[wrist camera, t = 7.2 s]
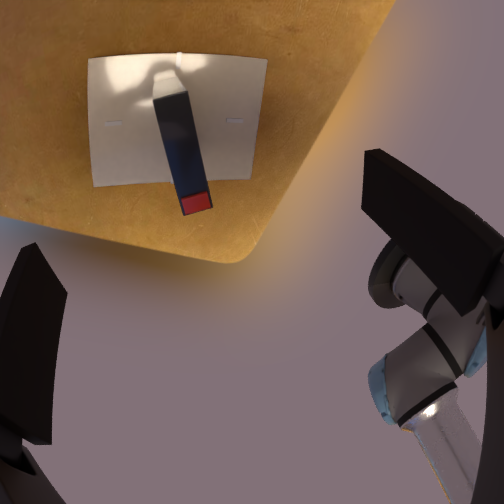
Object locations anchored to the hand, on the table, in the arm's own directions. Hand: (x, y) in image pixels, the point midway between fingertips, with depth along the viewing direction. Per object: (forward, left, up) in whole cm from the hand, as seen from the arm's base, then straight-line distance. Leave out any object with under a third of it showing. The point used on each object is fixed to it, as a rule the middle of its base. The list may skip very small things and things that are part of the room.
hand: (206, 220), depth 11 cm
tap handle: (0, 0, -15) cm, 15 cm away
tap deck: (0, 0, -18) cm, 18 cm away
